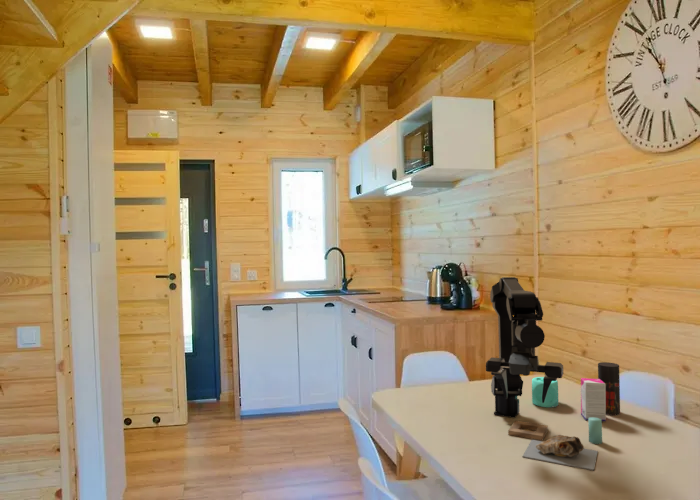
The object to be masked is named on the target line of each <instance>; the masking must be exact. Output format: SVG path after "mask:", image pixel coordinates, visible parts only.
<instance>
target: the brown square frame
mask: <svg viewBox="0 0 700 500" xmlns="http://www.w3.org/2000/svg"><path fill="white" fill-rule="evenodd" d="M548 427H549V425H546V424H541V423H534V422H526V421H520V420H514V422H513V423H512V425H511V426H510V428H508V431H507V433H508V434H507V435H508V436H512V437H513V436H514V437H519V438H525V439H531V440H537V441H544V438H545V436H546V434H547V432H548V431H549V430H548Z"/></svg>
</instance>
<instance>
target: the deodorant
mask: <svg viewBox="0 0 700 500" xmlns="http://www.w3.org/2000/svg"><path fill="white" fill-rule="evenodd" d="M597 379H600V380H602V381H603V382H604V383H605V384H606V385H605V386H606V415H607V416H619V415H620V414H621V389H620V383H621V382H620V364H618V363H615V362H607V361H606V362H605V361H604V362H603V361H602V362H598V363H597Z"/></svg>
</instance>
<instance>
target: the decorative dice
mask: <svg viewBox="0 0 700 500" xmlns="http://www.w3.org/2000/svg"><path fill="white" fill-rule="evenodd" d="M544 377H545V376H536V377H533V378H532V379H531V401H532V404H533V405H535V406H537V407H542V408H556V407H557V406H559V381H558V380H556V381H552V382H551V384H550V386H549V389H548V392H547V395H546V398H545V401H544V403H542V393H543V383H544Z"/></svg>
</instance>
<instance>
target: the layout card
mask: <svg viewBox="0 0 700 500" xmlns="http://www.w3.org/2000/svg"><path fill="white" fill-rule="evenodd" d="M543 441H544V440H537V439H531V440H530V442H529V443H528V446H527V447H526V449H525V451H524V453H523V454H522V458H523V459H530V460H536V461H541V462H546V463H551V464H556V465H562V466H567V467H568V466H569V467H572V468H578V469H584V470H588V471H595V467H596V462H597V457H598V453H599V452H598V450H595V449H589V448H585V447H584V448H583V450H582V451H580V453H579V454H578V455H574V456H572V457H569V456H567V455H563V454H554V453H549V454H543V453H542V452H541V451H540V450H538V449H537V448H536V445H538V444H540V443H541V442H543Z"/></svg>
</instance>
